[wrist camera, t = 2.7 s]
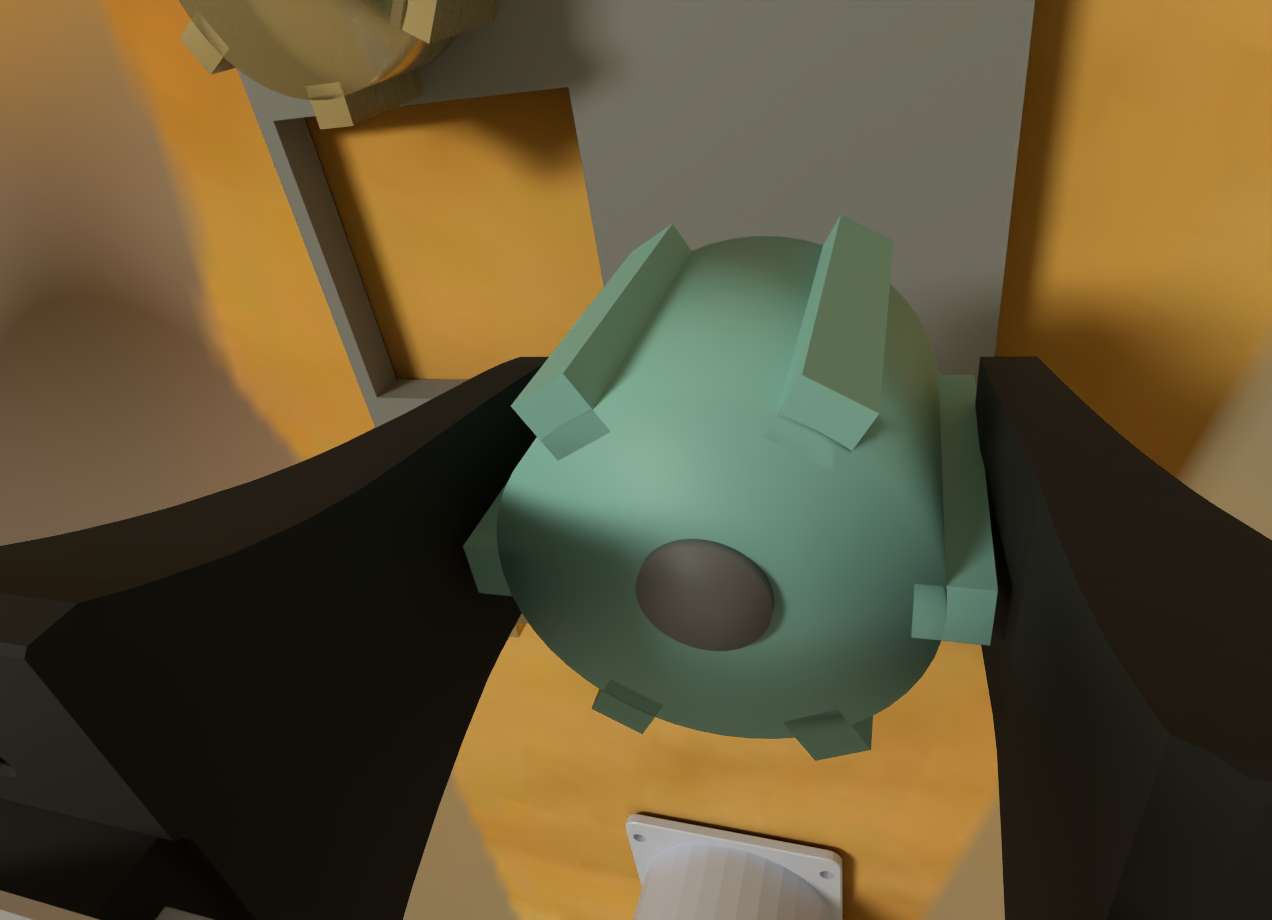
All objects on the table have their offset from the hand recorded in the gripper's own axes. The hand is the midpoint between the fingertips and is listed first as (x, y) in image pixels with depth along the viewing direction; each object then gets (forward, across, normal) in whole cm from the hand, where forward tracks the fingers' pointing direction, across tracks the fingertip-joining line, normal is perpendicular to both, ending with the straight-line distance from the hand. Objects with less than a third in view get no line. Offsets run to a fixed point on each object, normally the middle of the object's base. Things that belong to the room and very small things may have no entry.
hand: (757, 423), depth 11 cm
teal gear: (+1, 0, 0) cm, 1 cm away
